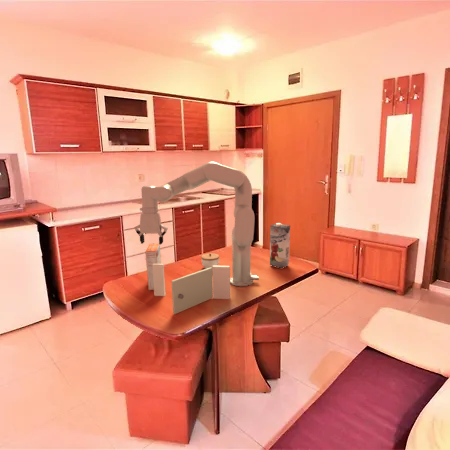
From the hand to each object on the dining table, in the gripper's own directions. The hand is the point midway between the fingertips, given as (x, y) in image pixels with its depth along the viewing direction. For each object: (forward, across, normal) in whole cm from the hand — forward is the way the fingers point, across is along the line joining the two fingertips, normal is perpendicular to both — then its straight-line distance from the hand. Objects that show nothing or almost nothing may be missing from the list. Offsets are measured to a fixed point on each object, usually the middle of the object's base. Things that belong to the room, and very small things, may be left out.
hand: (151, 243), depth 163 cm
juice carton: (+22, +67, +34) cm, 78 cm away
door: (+22, +27, -22) cm, 41 cm away
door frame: (+22, +23, -12) cm, 34 cm away
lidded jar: (+22, +26, +27) cm, 44 cm away
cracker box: (+23, +1, 0) cm, 23 cm away
